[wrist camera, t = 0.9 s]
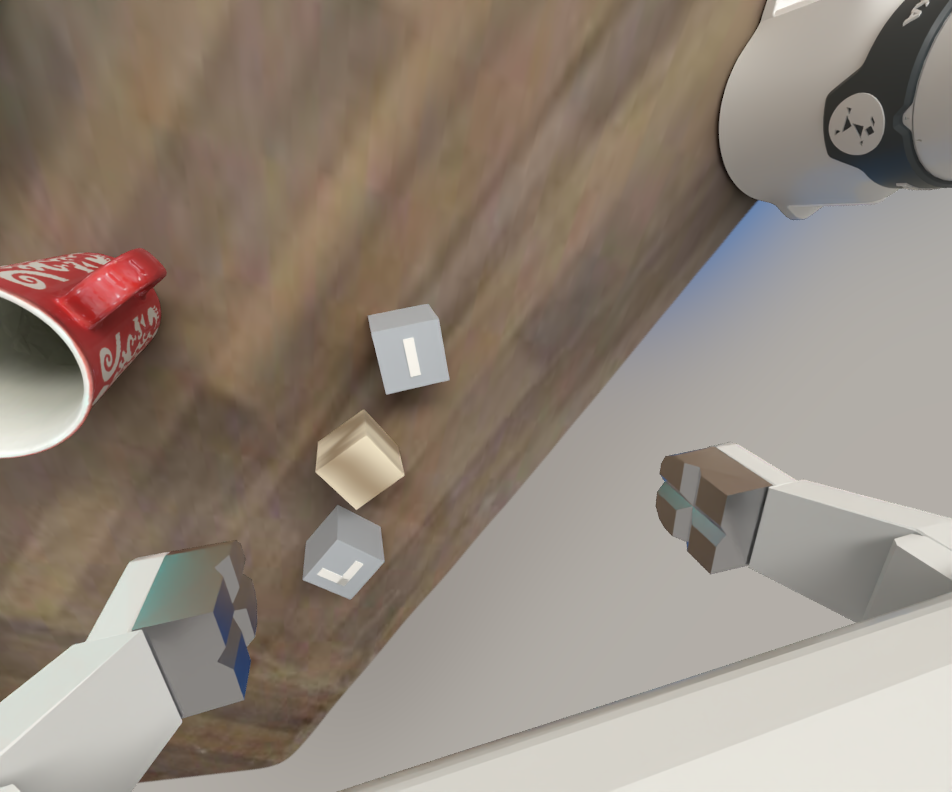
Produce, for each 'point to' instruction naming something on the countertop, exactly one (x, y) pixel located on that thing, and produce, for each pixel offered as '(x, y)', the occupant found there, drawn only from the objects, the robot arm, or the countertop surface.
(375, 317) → the grey block
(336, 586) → the grey block
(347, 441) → the maple block
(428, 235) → the countertop surface
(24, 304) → the mug
